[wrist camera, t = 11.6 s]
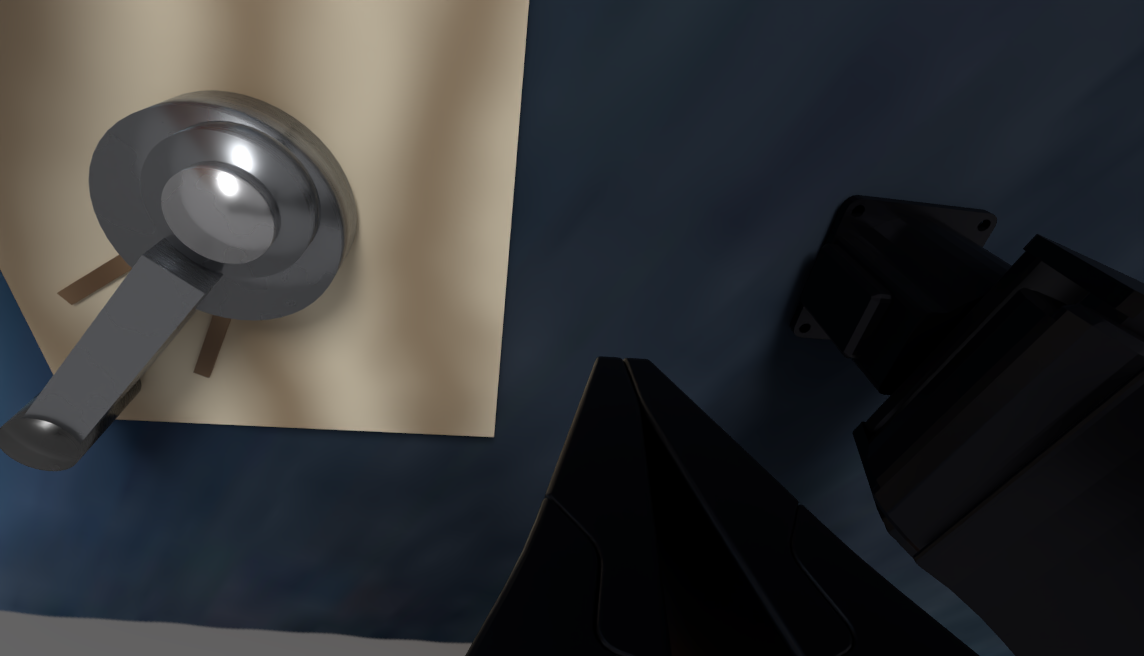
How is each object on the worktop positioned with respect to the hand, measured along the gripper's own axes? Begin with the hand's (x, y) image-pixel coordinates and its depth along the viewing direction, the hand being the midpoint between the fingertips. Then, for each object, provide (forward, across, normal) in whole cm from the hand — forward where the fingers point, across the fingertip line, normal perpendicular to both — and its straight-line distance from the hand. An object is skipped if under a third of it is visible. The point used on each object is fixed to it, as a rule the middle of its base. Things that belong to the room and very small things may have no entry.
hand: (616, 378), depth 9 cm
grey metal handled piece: (+11, +13, +6) cm, 19 cm away
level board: (+13, +11, +3) cm, 17 cm away
